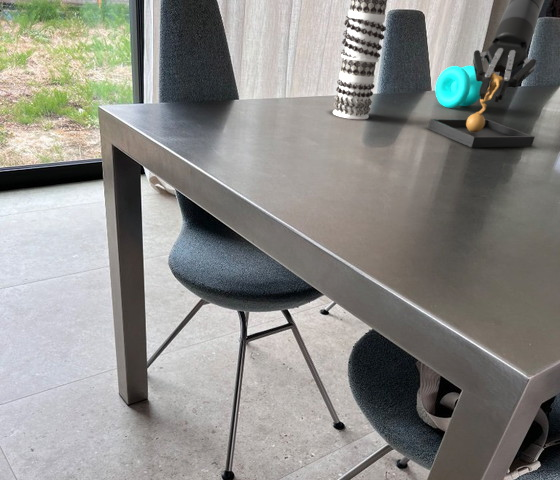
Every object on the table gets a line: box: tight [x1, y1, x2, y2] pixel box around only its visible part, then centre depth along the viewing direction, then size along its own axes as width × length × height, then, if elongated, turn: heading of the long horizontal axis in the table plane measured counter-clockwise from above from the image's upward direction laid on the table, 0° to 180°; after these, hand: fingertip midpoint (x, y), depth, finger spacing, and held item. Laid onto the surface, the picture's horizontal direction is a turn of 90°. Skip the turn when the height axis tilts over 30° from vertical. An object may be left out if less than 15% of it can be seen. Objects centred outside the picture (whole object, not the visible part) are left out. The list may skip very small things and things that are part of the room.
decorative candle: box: [332, 0, 388, 120], centre depth 125 cm, size 9×9×25 cm
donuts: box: [434, 65, 482, 109], centre depth 153 cm, size 10×10×10 cm
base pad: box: [427, 118, 536, 149], centre depth 126 cm, size 17×15×2 cm
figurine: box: [466, 72, 504, 133], centre depth 124 cm, size 8×6×12 cm
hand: (489, 97), depth 120 cm, fingers closed on figurine, 2 cm apart
